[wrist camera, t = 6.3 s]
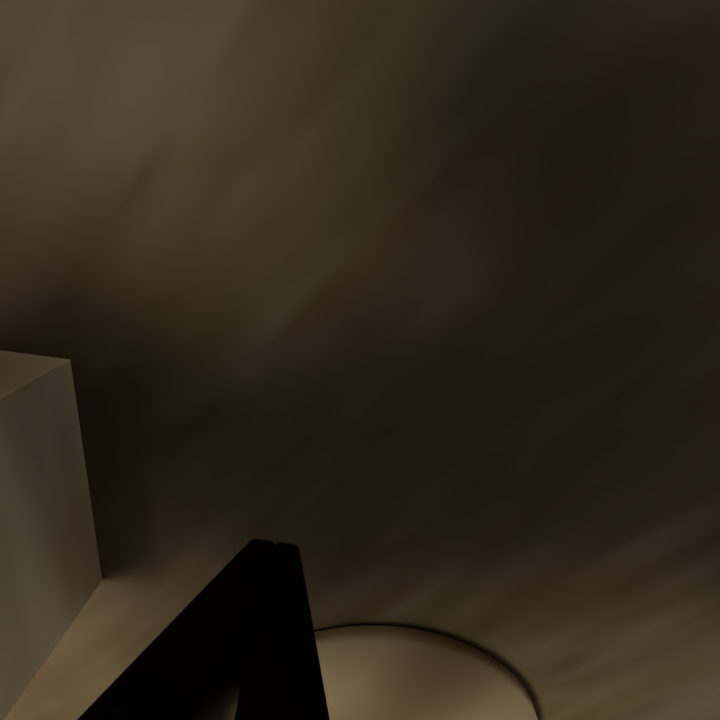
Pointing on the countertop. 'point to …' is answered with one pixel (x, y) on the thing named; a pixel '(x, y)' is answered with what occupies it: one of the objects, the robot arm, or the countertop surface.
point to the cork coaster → (414, 677)
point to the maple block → (40, 517)
